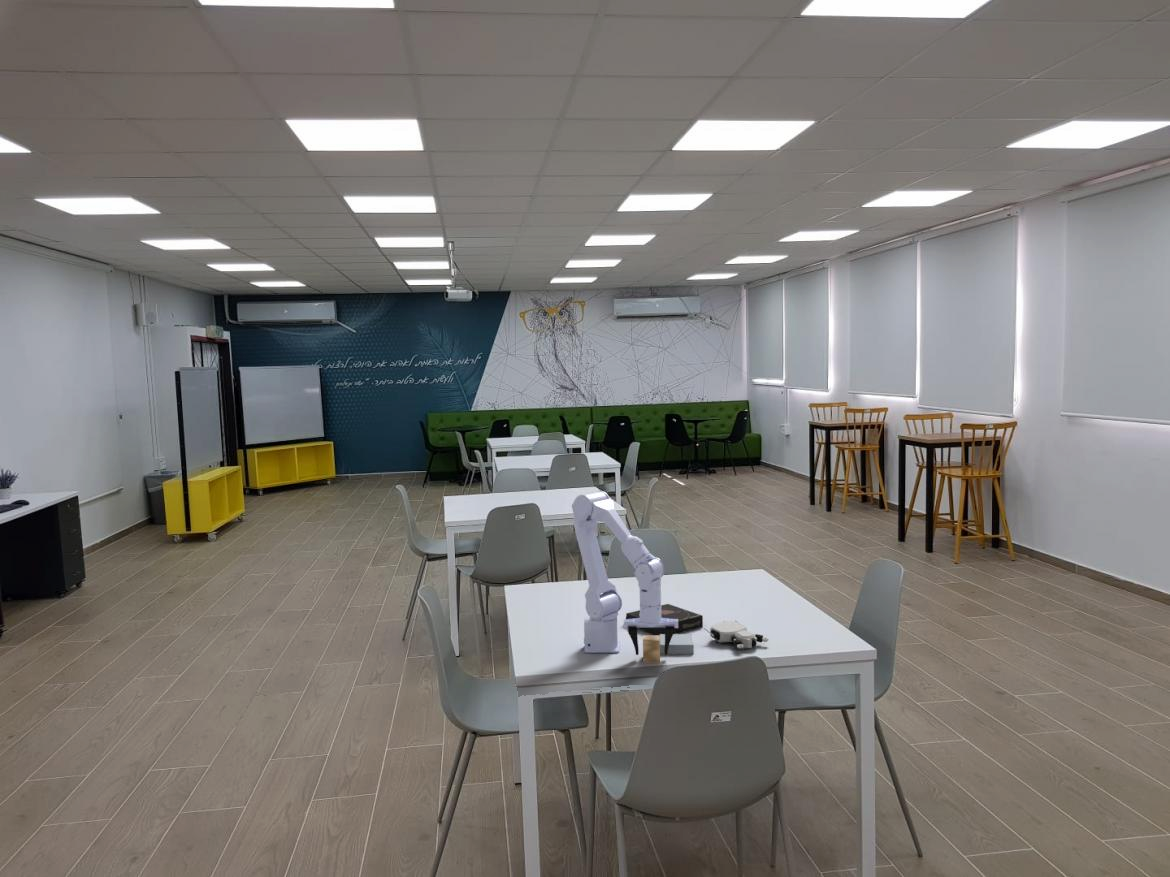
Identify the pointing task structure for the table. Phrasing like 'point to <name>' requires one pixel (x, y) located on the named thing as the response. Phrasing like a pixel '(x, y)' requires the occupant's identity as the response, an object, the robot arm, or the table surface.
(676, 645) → the slate base
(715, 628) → the robot toy
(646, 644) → the oak block
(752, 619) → the table surface
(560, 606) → the table surface
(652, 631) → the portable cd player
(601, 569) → the robot arm
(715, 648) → the table surface
